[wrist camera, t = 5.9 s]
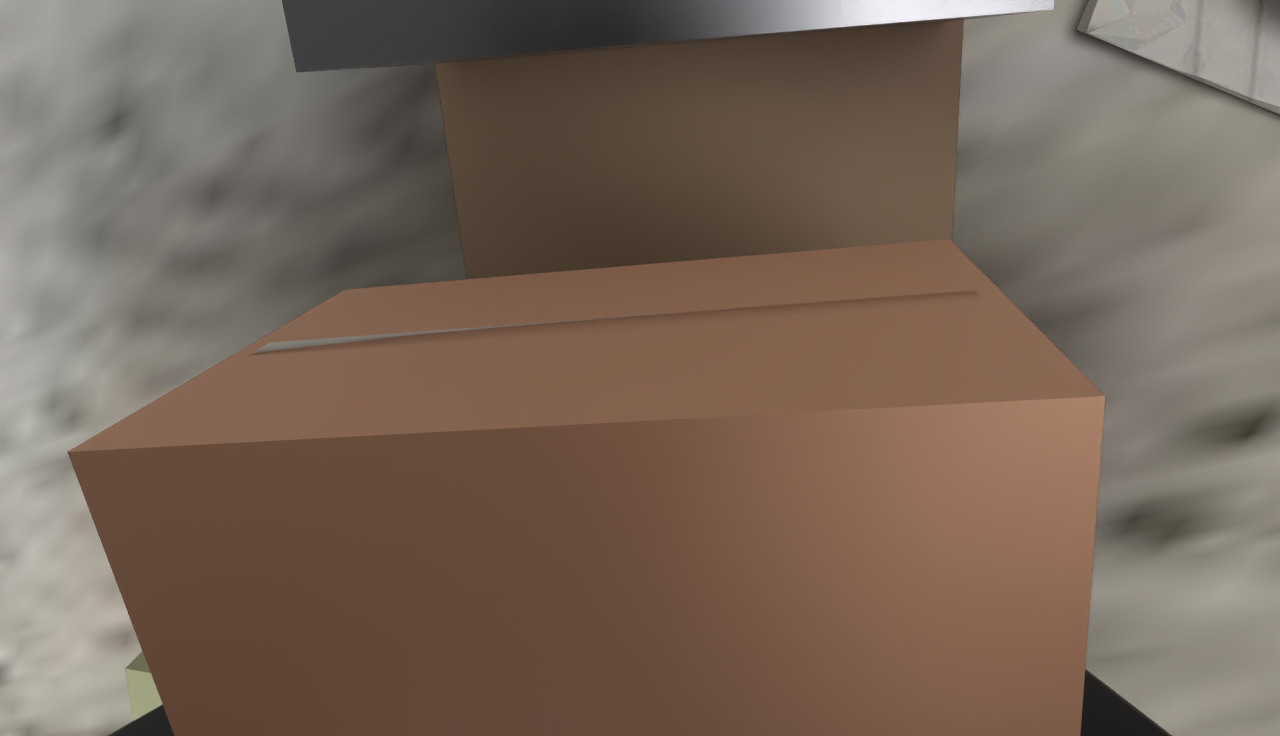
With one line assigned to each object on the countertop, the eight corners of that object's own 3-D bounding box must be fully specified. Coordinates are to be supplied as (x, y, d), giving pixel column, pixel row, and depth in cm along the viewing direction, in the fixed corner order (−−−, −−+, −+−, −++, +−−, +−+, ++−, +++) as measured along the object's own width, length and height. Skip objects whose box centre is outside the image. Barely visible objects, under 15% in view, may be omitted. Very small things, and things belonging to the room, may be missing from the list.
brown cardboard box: (945, 854, 10) (1039, 1270, 6) (477, 841, 10) (349, 1200, 7) (949, 239, 7) (1104, 395, 4) (345, 290, 8) (69, 452, 5)
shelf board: (912, 799, 20) (965, 1057, 15) (559, 784, 21) (497, 1017, 16) (961, -305, 13) (1100, -539, 8) (416, -231, 14) (218, -389, 9)
